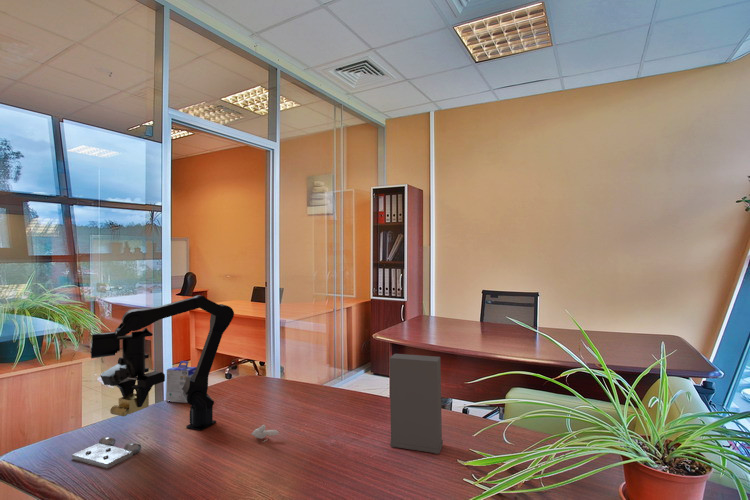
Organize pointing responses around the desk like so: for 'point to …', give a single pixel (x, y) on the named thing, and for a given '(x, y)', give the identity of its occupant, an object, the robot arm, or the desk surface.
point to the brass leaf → (128, 405)
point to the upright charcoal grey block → (416, 402)
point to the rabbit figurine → (263, 432)
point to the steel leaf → (106, 453)
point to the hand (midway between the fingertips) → (134, 405)
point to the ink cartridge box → (177, 382)
